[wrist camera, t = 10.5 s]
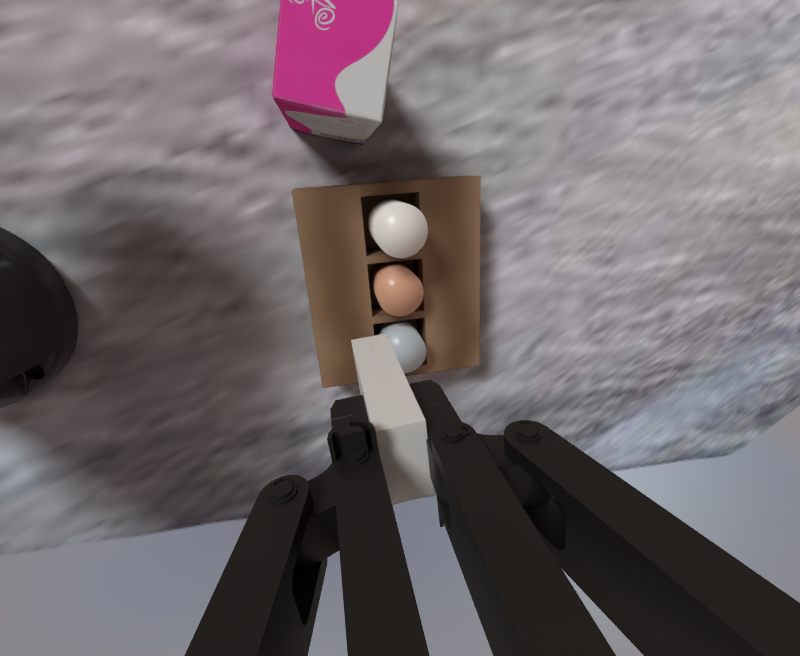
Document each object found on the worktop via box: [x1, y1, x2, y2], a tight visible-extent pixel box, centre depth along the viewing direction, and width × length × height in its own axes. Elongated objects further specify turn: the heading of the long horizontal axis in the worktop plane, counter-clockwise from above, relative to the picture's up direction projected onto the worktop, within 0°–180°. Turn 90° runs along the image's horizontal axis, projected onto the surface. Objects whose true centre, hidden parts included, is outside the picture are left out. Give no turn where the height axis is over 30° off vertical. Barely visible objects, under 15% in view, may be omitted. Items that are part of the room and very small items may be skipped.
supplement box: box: [272, 0, 399, 145], centre depth 25 cm, size 6×6×12 cm
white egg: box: [367, 199, 428, 258], centre depth 29 cm, size 4×4×5 cm
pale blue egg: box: [376, 320, 426, 373], centre depth 35 cm, size 4×4×5 cm
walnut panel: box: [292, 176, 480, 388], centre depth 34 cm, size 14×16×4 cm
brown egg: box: [370, 261, 424, 316], centre depth 33 cm, size 4×4×5 cm
